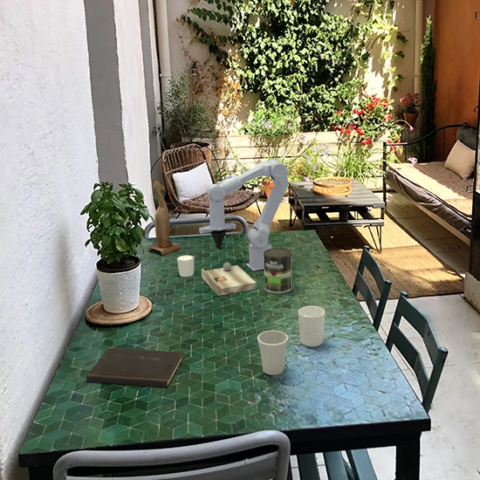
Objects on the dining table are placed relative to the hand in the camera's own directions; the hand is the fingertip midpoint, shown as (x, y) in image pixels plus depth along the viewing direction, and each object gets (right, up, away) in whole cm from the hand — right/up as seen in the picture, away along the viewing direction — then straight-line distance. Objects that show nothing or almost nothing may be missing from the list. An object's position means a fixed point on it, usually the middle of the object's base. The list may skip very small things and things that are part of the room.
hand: (218, 248), depth 231 cm
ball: (+1, -12, -11) cm, 17 cm away
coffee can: (+23, -15, -15) cm, 31 cm away
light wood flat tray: (+4, -13, -9) cm, 16 cm away
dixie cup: (+18, -33, -70) cm, 79 cm away
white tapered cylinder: (-13, -11, +2) cm, 17 cm away
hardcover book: (-21, -34, -67) cm, 78 cm away
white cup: (+30, -28, -55) cm, 69 cm away
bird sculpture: (-25, -2, +31) cm, 40 cm away
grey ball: (+3, -7, -3) cm, 9 cm away
